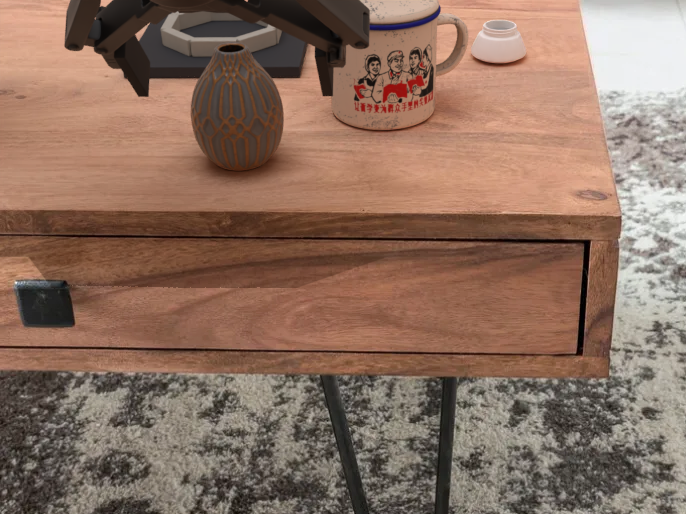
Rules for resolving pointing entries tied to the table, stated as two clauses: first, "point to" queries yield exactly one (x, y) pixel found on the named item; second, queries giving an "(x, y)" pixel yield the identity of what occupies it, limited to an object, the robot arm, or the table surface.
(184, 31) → the base pad
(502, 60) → the white jar
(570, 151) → the table surface
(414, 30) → the teacup with lid
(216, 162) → the vase
